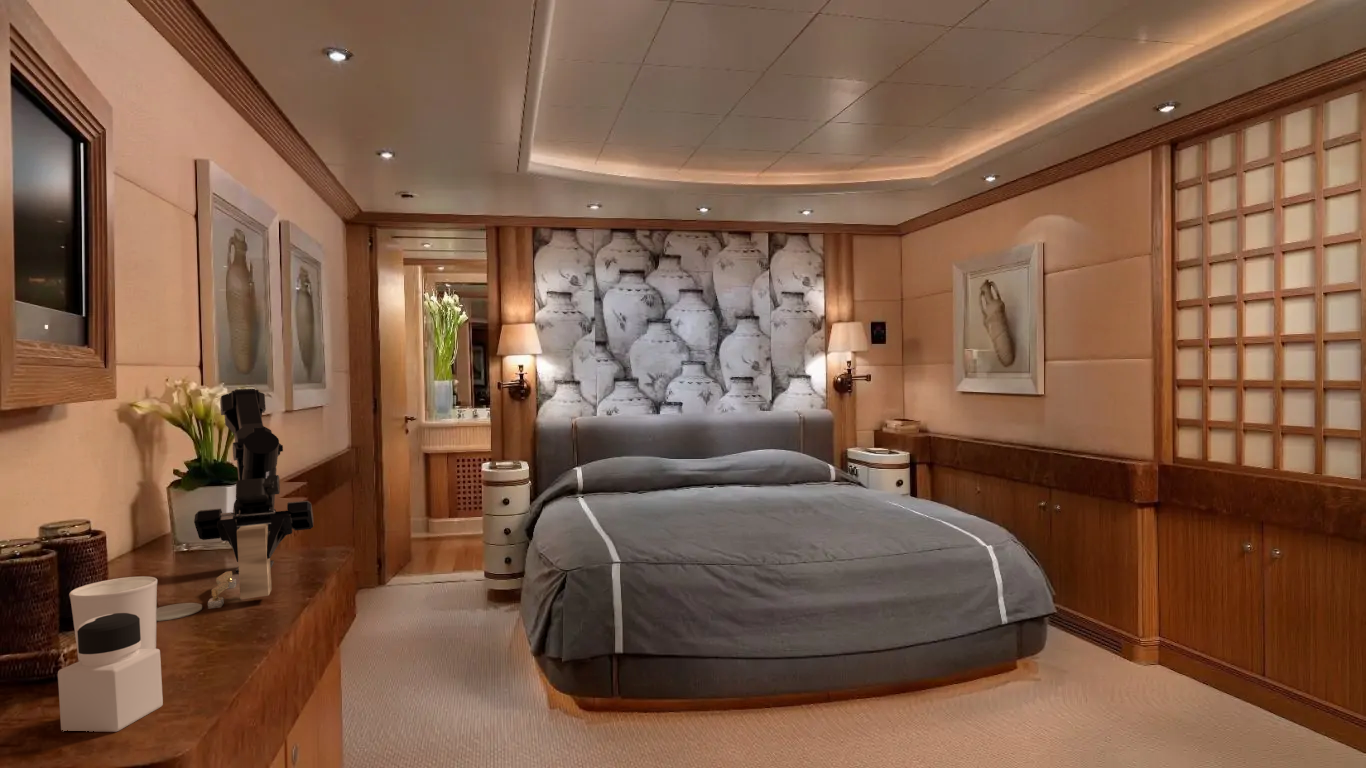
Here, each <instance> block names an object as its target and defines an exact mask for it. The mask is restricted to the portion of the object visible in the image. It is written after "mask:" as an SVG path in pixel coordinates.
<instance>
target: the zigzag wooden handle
mask: <svg viewBox="0 0 1366 768" xmlns="http://www.w3.org/2000/svg"><path fill="white" fill-rule="evenodd" d="M215 583H216V586H215V587H213V588H212V589H211V596H212V597H211V598H209V599H208V601H207V609H209V610H210V609H216V608H218V609H219V608H222V606H223V605H224V597H223V596H220V597H219V595H220V594H222V593H223V592H225V590H227V589H229V590H230V589H235V587H236V586H237V578H233V571H232V570H230V571H225V572H224V573H222V574H220V575H219V576H217V577H216V578H215Z"/></svg>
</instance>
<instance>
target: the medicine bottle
mask: <svg viewBox="0 0 1366 768" xmlns="http://www.w3.org/2000/svg"><path fill="white" fill-rule="evenodd" d="M76 634H77V645H76V652H78V653H77V659H79V660H81V661H79V660H78V661H76V662H75V663H72V664H69V665H68V666H65V667H63V668H60V669H59V670H58V671H57V683H58V685H57V686H58V700H59V716H60V717H59V718H60V730H61V731H62V730H63V731H62V732H64V731H67V730H68V731H86V733H88V732H87V731H89V733H90V732H92V733H93V731H94V732H97V733H98V732H99V733H100V732H101V733H102V732H103V733H104V732H105V733H106V732H107V733H109V732H110V733H113V732H114V733H116V732H119V731H121V730H123V729H124V728H127V727H128V726H130V725H131V724H134V723H135V722H137V721H138V720H140V719H142V718H144V717H145V716H147V715H149V714H151V713H153V712H155V711H156V710H158V709H160V708H161V707H162V706H163V705H164V703H163V702H164V700H163V699H164V698H163V682H162V663H161V661H162V659H161V650H160V649H159V648H156V649H138V648H140V647H141V636H140V618H139V617H138V616H136V615H134V614H129V613H115V614H108V615H103V616H99V617H95V618H92V619H90V620H88V621H86V622H84V623H82V624H81V625H79V627H78V628H77V629H76Z"/></svg>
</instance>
